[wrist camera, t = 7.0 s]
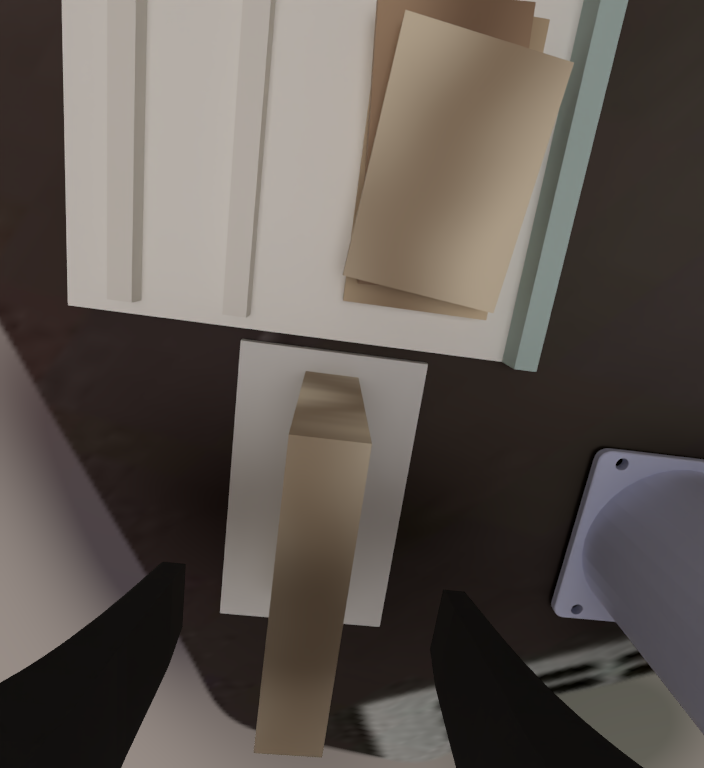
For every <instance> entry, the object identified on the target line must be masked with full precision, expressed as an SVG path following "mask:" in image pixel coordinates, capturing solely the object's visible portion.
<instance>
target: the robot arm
mask: <svg viewBox="0 0 704 768" xmlns="http://www.w3.org/2000/svg"><path fill="white" fill-rule="evenodd" d="M620 459H623V461H622V463H621V464H620V465H618V466H616V463H617V461H618V460H620ZM185 565H186V564H178V563H168V562H162V563H161V564H160V565H158V566H157V567H156V568H155V569H154V570H153V571H151V572H150V573H149V574H148V575H147V576H146V577H145V578H143V579H142V580H141V581H140V582H139V583H138V584H137V585H136V586H134V587H133V588H132V589H131V590H130V591H129V592H127V593H126V594H125V595H124V596H123V597H122V598H120V599H119V600H118V601H117V602H115V603H114V604H113V605H112V606H111V607H109V608H108V609H107V610H106V611H105V612H103V613H102V614H101V615H100V616H98V617H97V618H96V619H95V620H93V621H92V622H91V623H89V624H88V625H87V626H85V627H84V628H83V629H81V630H80V631H79V632H77V633H76V634H75V635H73V636H72V637H71V638H70V639H68V640H67V641H65V642H64V643H62V644H61V645H60V646H58V647H57V648H55V649H54V650H52V651H51V652H49V653H48V654H47V655H45V656H44V657H42V658H41V659H39V660H38V661H36V662H34V663H33V664H31V665H30V666H28V667H26V668H25V669H23V670H21V671H20V672H18V673H17V674H15V675H13V676H11V677H9V678H8V679H6V680H4V681H3V682H1V683H0V768H121V767H122V764H123V762H124V760H125V757H126V755H127V753H128V751H129V749H130V747H131V745H132V743H133V740H134V738H135V736H136V734H137V732H138V730H139V727H140V725H141V723H142V721H143V719H144V717H145V715H146V713H147V711H148V709H149V707H150V705H151V702H152V700H153V698H154V696H155V694H156V692H157V690H158V688H159V685H160V683H161V681H162V679H163V677H164V675H165V672H166V670H167V668H168V666H169V663H170V660H171V658H172V655H173V652H174V649H175V646H176V643H177V640H178V638H179V635H180V632H181V629H182V622H183V603H184V584H185ZM574 605H577V606H575V607H574V608H572V607H573V606H574ZM551 606H552V608H553V610H554V612H555V613H556V614H557V615H558V616H561V617H568V618H579V619H590V620H601V621H612V622H616V623H617V624H618V625H619V627H620V628H621V629H622V631H623V632H624V633H625V634H626V636H627V637H628V638H629V640H630V641H631V642H632V643H633V645H634V646H635V647H636V649H637V650H638V651H639V652H640V654H641V655H642V656H643V657H644V659H645V660H646V661H647V663H648V664H649V665H650V666H651V668H652V669H653V670H654V672H655V673H656V674H657V675H658V677H659V678H660V679H661V681H662V682H663V683H664V684H665V686H666V687H667V688H668V690H669V691H670V692H671V693H672V695H673V696H674V697H675V698H676V700H677V701H678V702H679V704H680V705H681V706H682V708H683V709H684V710H685V711H686V713H687V714H688V715H689V716H690V718H691V719H692V720H693V722H694V723H695V724H696V725H697V727H698V728H699V729H700V731H701V732H702V733H703V734H704V459H696V458H688V457H679V456H671V455H662V454H654V453H646V452H637V451H629V450H620V449H612V448H604V449H602V450H600V451H599V452H597V453H596V455H595V457H594V459H593V463H592V466H591V469H590V473H589V476H588V480H587V483H586V486H585V490H584V493H583V496H582V500H581V503H580V507H579V510H578V513H577V517H576V520H575V524H574V527H573V530H572V534H571V537H570V541H569V544H568V547H567V551H566V554H565V558H564V561H563V564H562V568H561V571H560V574H559V578H558V581H557V585H556V588H555V591H554V595H553V598H552V602H551ZM430 651H431V658H432V666H433V673H434V680H435V686H436V691H437V695H438V699H439V703H440V707H441V711H442V715H443V719H444V723H445V727H446V731H447V734H448V738H449V742H450V746H451V750H452V754H453V757H454V761H455V765H456V768H643V767H642V766H640V765H639V764H637V763H636V762H635V761H633V760H632V759H631V758H630V757H628V756H627V755H626V754H624V753H623V752H622V751H620V750H619V749H618V748H616V747H615V746H614V745H613V744H612V743H610V742H609V741H608V740H607V739H605V738H604V737H603V736H602V735H600V734H599V733H598V732H597V731H596V730H594V729H593V728H592V727H591V726H590V725H588V724H587V723H586V722H585V721H584V720H583V719H581V718H580V717H579V716H578V715H577V714H576V713H575V712H574V711H573V710H572V709H570V708H569V707H568V706H567V705H566V704H565V703H564V702H563V701H562V700H561V699H560V698H559V697H557V696H556V695H555V694H554V693H553V692H552V691H551V690H550V689H549V688H548V687H547V686H546V685H545V684H544V683H543V682H542V681H541V680H540V679H539V678H538V677H537V676H536V675H535V673H534V672H533V671H532V670H531V669H530V668H529V667H528V666H527V665H526V664H525V663H524V662H523V661H522V660H521V659H520V657H519V656H518V655H517V654H516V653H515V652H514V651H513V650H512V648H511V647H510V646H509V645H508V644H507V643H506V642H505V640H504V639H503V638H502V637H501V636H500V634H499V633H498V632H497V631H496V630H495V628H494V627H493V626H492V625H491V624H490V622H489V621H488V620H487V619H486V618H485V616H484V615H483V614H482V613H481V611H480V610H479V609H478V608H477V606H476V605H475V604H474V603H473V602H472V600H471V599H470V598H469V597H468V595H467V594H466V593H465V592H461V591H450V590H443V594H442V598H441V603H440V607H439V612H438V616H437V621H436V625H435V630H434V634H433V639H432V643H431V648H430Z"/></svg>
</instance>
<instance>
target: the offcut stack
mask: <svg viewBox="0 0 704 768" xmlns="http://www.w3.org/2000/svg"><path fill="white" fill-rule="evenodd" d="M535 4H536V2H530V1H520V0H377V2H376V17H375V31H374V46H373V60H372V75H371V88H370V96H369V104H368V111H367V119H366V126H365V134H364V142H363V149H362V157H361V165H360V172H359V180H358V187H357V195H356V203H355V210H354V218H353V226H352V233H351V241H350V245H349V250H348V254H347V258H346V262H345V267H344V271H343V276H346V279H345V287H344V294H343V301H348V302H356V303H363V304H370V305H377V306H385V307H392V308H399V309H407V310H414V311H421V312H429V313H436V314H443V315H451V316H458V317H465V318H472V319H480V320H486V319H487V314H488V312H490V313H494V310H495V307H496V304H497V301H498V298H499V294H500V291H501V288H502V285H503V282H504V279H505V276H506V273H507V270H508V266H509V263H510V260H511V257H512V254H513V251H514V248H515V245H516V242H517V239H518V235H519V232H520V229H521V226H522V223H523V220H524V217H525V214H526V211H527V207H528V204H529V201H530V198H531V195H532V192H533V189H534V186H535V183H536V180H537V176H538V173H539V170H540V167H541V164H542V161H543V158H544V155H545V152H546V149H547V145H548V142H549V139H550V136H551V133H552V130H553V127H554V124H555V121H556V117H557V114H558V111H559V108H560V105H561V102H562V99H563V96H564V93H565V90H566V86H567V83H568V80H569V77H570V74H571V71H572V68H573V65H574V62H571V61H567V60H564V59H561V58H558V57H555V56H551V55H548V54H545V53H543V51H544V46H545V41H546V36H547V32H548V27H549V22H550V19H545V18H540V17H534V10H535Z"/></svg>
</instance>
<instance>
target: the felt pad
mask: <svg viewBox="0 0 704 768" xmlns="http://www.w3.org/2000/svg"><path fill="white" fill-rule="evenodd" d="M427 367H428V364H427V363H426V362H420V361H412V360H404V359H397V358H389V357H381V356H373V355H366V354H358V353H350V352H342V351H335V350H327V349H319V348H311V347H304V346H296V345H288V344H280V343H273V342H265V341H257V340H249V339H242V340H241V344H240V357H239V370H238V384H237V397H236V410H235V423H234V436H233V449H232V462H231V475H230V488H229V501H228V514H227V527H226V540H225V553H224V566H223V579H222V592H221V606H220V613H225V614H237V615H248V616H260V617H269V609H270V600H271V591H272V582H273V573H274V564H275V554H276V545H277V536H278V527H279V518H280V509H281V500H282V491H283V481H284V472H285V463H286V454H287V445H288V436H289V431H290V427H291V424H292V420H293V416H294V413H295V409H296V405H297V401H298V398H299V394H300V390H301V386H302V383H303V379H304V375H305V371H310V372H318V373H326V374H334V375H342V376H350V377H358V378H359V383H360V387H361V392H362V397H363V402H364V407H365V412H366V417H367V422H368V427H369V432H370V437H371V441H372V447H371V454H370V460H369V466H368V472H367V479H366V485H365V491H364V497H363V504H362V510H361V516H360V522H359V529H358V535H357V541H356V547H355V554H354V560H353V566H352V572H351V579H350V585H349V591H348V597H347V604H346V610H345V616H344V622H343V624H352V625H364V626H375V627H380V622H381V616H382V611H383V605H384V600H385V594H386V589H387V584H388V578H389V573H390V567H391V562H392V556H393V551H394V546H395V540H396V535H397V529H398V524H399V519H400V513H401V508H402V502H403V497H404V491H405V486H406V481H407V475H408V470H409V464H410V459H411V453H412V448H413V443H414V437H415V432H416V426H417V421H418V416H419V410H420V405H421V399H422V394H423V388H424V383H425V378H426V372H427Z"/></svg>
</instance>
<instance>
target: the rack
mask: <svg viewBox="0 0 704 768" xmlns="http://www.w3.org/2000/svg"><path fill="white" fill-rule="evenodd" d="M520 1H530V2H536V4H535V10H534V17H540V18H545V19H550V22H549V27H548V32H547V36H546V41H545V46H544V51H543V53H545V54H548V55H551V56H555V57H558V58H561V59H564V60H567V61H571V62H574V65H573V68H572V71H571V74H570V77H569V80H568V83H567V86H566V90H565V93H564V96H563V99H562V102H561V105H560V108H559V111H558V114H557V117H556V121H555V124H554V127H553V130H552V133H551V136H550V139H549V142H548V145H547V149H546V152H545V155H544V158H543V161H542V164H541V167H540V170H539V173H538V176H537V180H536V183H535V186H534V189H533V192H532V195H531V198H530V201H529V204H528V207H527V211H526V214H525V217H524V220H523V223H522V226H521V229H520V232H519V235H518V239H517V242H516V245H515V248H514V251H513V254H512V257H511V260H510V263H509V266H508V270H507V273H506V276H505V279H504V282H503V285H502V288H501V291H500V294H499V298H498V301H497V304H496V307H495V310H494V313H490V312H488V314H487V319H486V320H480V319H472V318H465V317H458V316H451V315H443V314H436V313H429V312H421V311H414V310H407V309H399V308H392V307H385V306H377V305H370V304H363V303H356V302H348V301H343V294H344V287H345V279H346V276H343V271H344V267H345V262H346V258H347V254H348V250H349V245H350V241H351V233H352V226H353V218H354V210H355V203H356V195H357V187H358V180H359V172H360V165H361V157H362V149H363V142H364V134H365V126H366V119H367V111H368V104H369V96H370V88H371V75H372V60H373V46H374V31H375V17H376V2H377V0H62V36H63V85H64V135H65V184H66V233H67V282H68V305H71V306H78V307H86V308H94V309H101V310H109V311H117V312H124V313H132V314H140V315H147V316H155V317H163V318H170V319H178V320H185V321H193V322H201V323H208V324H216V325H224V326H231V327H239V328H247V329H254V330H262V331H270V332H277V333H285V334H293V335H300V336H308V337H316V338H323V339H331V340H339V341H346V342H354V343H362V344H369V345H377V346H385V347H392V348H400V349H408V350H415V351H423V352H431V353H438V354H446V355H454V356H461V357H469V358H477V359H484V360H492V361H500V362H503V363H505V364H506V365H508V366H510V367H511V368H513V369H517V370H525V371H533V372H536V371H537V367H538V363H539V359H540V355H541V351H542V347H543V343H544V339H545V335H546V331H547V326H548V322H549V318H550V314H551V310H552V306H553V302H554V298H555V294H556V290H557V286H558V282H559V278H560V274H561V270H562V266H563V262H564V258H565V254H566V250H567V246H568V242H569V238H570V233H571V229H572V225H573V221H574V217H575V213H576V209H577V205H578V201H579V197H580V193H581V189H582V185H583V181H584V177H585V173H586V169H587V165H588V161H589V157H590V153H591V149H592V145H593V140H594V136H595V132H596V128H597V124H598V120H599V116H600V112H601V108H602V104H603V100H604V96H605V92H606V88H607V84H608V80H609V76H610V72H611V68H612V64H613V60H614V56H615V52H616V47H617V43H618V39H619V35H620V31H621V27H622V23H623V19H624V15H625V11H626V7H627V3H628V0H520Z"/></svg>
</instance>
